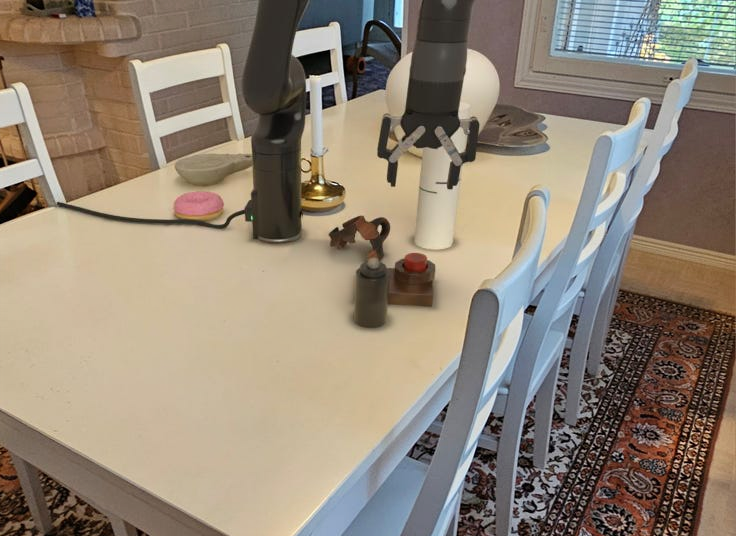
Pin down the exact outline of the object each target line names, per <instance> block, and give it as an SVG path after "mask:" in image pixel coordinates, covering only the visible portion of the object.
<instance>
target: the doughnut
mask: <svg viewBox="0 0 736 536" xmlns="http://www.w3.org/2000/svg"><path fill="white" fill-rule="evenodd" d="M224 206H225V202H224V199H223V198H222V197H221V195H219V194H218V193H215V192H212V191H209V190H208V191H204V190H198V191H196V190H195V191H189V192H187V193H183V194H181V195H179V196H178V197H177V198H176V199H175V200H174V203H173V207H172V210H173V211H174V214H175V216H176V217H178V218H179V219H187V220H199V221H203V222H208V221H211V220H214V219H216V218H218V217H219V216H220V215H221V214H222V213H223V211H224Z"/></svg>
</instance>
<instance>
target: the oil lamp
mask: <svg viewBox="0 0 736 536" xmlns="http://www.w3.org/2000/svg"><path fill="white" fill-rule="evenodd" d="M251 167H253V166H252V153H237V154H234V153H202V154H201V153H200V154H195V155H192V156H188V157H183V158H180V159H178V160H176V161H175V163H174V170H175V171H176V173H177V174H178V175H179V177H181V178H182V179H183V180H184V181H186V182H187V183H189V184H191V185H193V186H197V187H207V186H212V185H217V184H219V183H221V182H222V181H224V180H225V179H226V178H228V177H229V176H231V175H234V174H236V173H240V172H242V171H245V170H247V169H249V168H251Z"/></svg>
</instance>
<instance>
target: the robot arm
mask: <svg viewBox="0 0 736 536" xmlns="http://www.w3.org/2000/svg"><path fill="white" fill-rule="evenodd" d="M310 1H311V0H257V7H256V15H255V20H254V26H253V31H252V36H251V39H250V43H249V47H248V51H247V55H246V59H245V62H244V68H243V72H242V76H241V92H242V97H243V100H244V102H245V104H246V106H247V108H249V110H250V111H251V112H253V113H254V114H255V115H258V120H257V122H256V125H255V128H254V129H253V131H252V133H251V137H250V141H251V142H250V145H251V147H250V148H251V154H252V166H251V167H252V186H253V189H252V190H251V192H250V199H249V200H248V201H247V203H246V204H245V206H244V208H243V209H241V210H239V211H236V212H234V213H232V214H230V215H228V217H227V218H226V219H225V222H224V223H222V224H214V223H210V222H208V221H199V220H187V219H180V218H179V219H178V218H177V219H158V218H138V217H129V216H121V215H115V214H109V213H104V212H99V211H95V210H92V209H88V208H85V207H81V206H77V205H74V204H69V203H64V202H60V201H57V202H56V206H59V207H61V208H62V207H63V208H66V209H70V210H73V211H78V212H80V213H81V212H82V213H85V214H89V215H92V216H97V217H101V218H106V219H111V220H116V221H122V222H129V223H130V222H131V223H139V224H141V223H143V224H164V225H166V224H167V225H168V224H169V225H171V224H173V225H174V224H175V225H178V224H180V225H181V224H182V225H183V224H187V225H188V224H189V225H198V226H203V227H206V228H211V229H217V230H222V229H226V228H227V227H228V226H229V225H230V223H231V222H232V220H233V219H235V218H237V217H239V216H242V215H244V221H245V222H248V223H249V222H250V223H251V226H252V240H256V241H257V240H258V241H260V242H263V243H267V244H277V245H278V244H287V243H292V242H294V241H297V240H299V239H300V238H301V237H302V236H303V228H302V227H303V223H302V219H304V211H303V208H302V138H303V136H304V131H305V128H306V112H307V111H306V109H307V79H306V73H305V69H304V66H303V65H302V62H300V60H299V59H298V58H297V57H296V55H293V49H294V44H295V39H296V34H297V31H298V28H299V25H300V22H301V21H302V20H303V19H302V18H303V16H304V14H305V12H306V10H307V8H308V6H309V3H310ZM475 3H476V0H420V3H419V9H418V16H417V22H416V23H417V24H416V32H415V40H414V44H413V49H412V51H411V52H412V57H411V65H410V70H409V71H410V73H409V82H408V90H407V98H406V106H405V112H404V114H403V115H402V117H397V116H390V114H389V112H388V113H384V114H383V115H382V119H381V124H380V131H379V137H378V143H377V151H376V152H377V153H376V155H377V158H379V159H383V160H386V161H387V170H386V171H387V173H386V182H387V183H388V184H390V187H391V188H396V184H397V177H398V169H399V159H400V158H401V157H402V156H403V155H404V154H405V153H406V152H408V151H407V150H408V149H409V148H410V147H411V146H412V145H413V146H415V147H416V148H426V147H428V148H431V149H438V148H439V147H442V146H443V147H444V148H445V150H446V152H447V153H448V155H449V156H450V158H451V160H452V162H450V168H449V174H448V180H447V189H450V190H452V189H453V186H456V185H457V184H458V180H459V175H460V169H461V166H462V164H463V165H464V164H466V163H474V162H475V160H476V158H477V148H478V141H479V135H478V133H479V121H478V119H477V118H476V117H474V116H473V117H471V118H470V119H459V117H458V111H459V105H460V99H461V93H462V87H463V81H464V75H465V73H466V62H467V49H468V45H469V37H470V32H471V25H472V19H473V12H474V11H473V10H474V6H475ZM397 125H401V127H402V129H403V131H404V133H405V135H404V136H403V137H402V138H401V139H400V140H399V141H398V142H397V143H396V144H395V145H394V146H393V148H391V149H390V148H388V141H389V136H390V133H393V132H394V130H395V127H396V126H397ZM459 127H461V128H463V132H464V134H465V135H467V143H466V149H465V150H464V152H462V153H459V152H458V150H457V149H456V147H455V145H454V143H453V141H452V140H451V138H450V137H451V136H452V135H453V134H454V133H455V132H456V131H457V130H458V129H459ZM462 167H463V166H462Z"/></svg>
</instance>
